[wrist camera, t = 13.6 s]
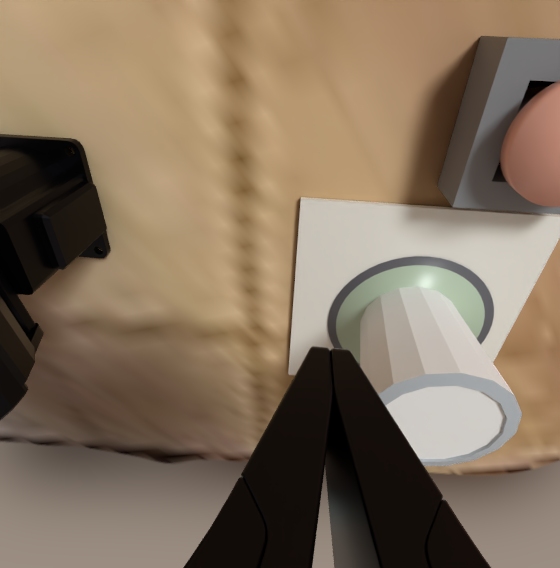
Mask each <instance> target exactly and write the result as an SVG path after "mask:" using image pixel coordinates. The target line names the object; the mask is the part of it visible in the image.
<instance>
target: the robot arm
mask: <svg viewBox="0 0 560 568" xmlns="http://www.w3.org/2000/svg"><path fill="white" fill-rule="evenodd" d="M69 146H70V147H72V148H73V149H74V151H75V154H73V153H72V152H71V151H70V149H69ZM98 247H100V248H101V249H102V250H103V251H101V250H99V249H98ZM109 252H110V245H109V241H108V237H107V234H106V223H105V220H104V216H103V212H102V208H101V204H100V201H99V197H98V193H97V189H96V186H95V185H94V184H93V181H92V177H91V173H90V169H89V166H88V162H87V158H86V154H85V151H84V148H83V146H82V145H81V143H80V142H78V141H77V140H75V139H71V138H55V137H39V136H22V135H6V134H0V420H1V419H3V418H4V417H5V416H6V415H7V414H8V413H9V412H11V411H12V410H13V408H14V407H15V406H16V405H17V404H18V403H19V401H20V400H21V399H22V398H23V397H24V395H25V394H26V392H27V390H28V387H27V385H26V384H25V382H26V380H27V378H28V376H29V374H30V372H31V370H32V367H33V365H34V363H35V353H36V351H37V348H38V346H39V343H40V341H41V339H42V336H43V331H42V329H41V328H40V326H39V324H38V323H34V321H33V319H32V318H31V316H30V315H29V313H28V311H27V310H26V308H25V307H24V305H23V303H22V302H21V300H20V299H19V297H18V295H19V294H25V295H31V294H33V293H34V292H35V291H36V290H37V289H38V288H39V287H40V286H41V285H42V284H43V283H45V282H46V281H47V280H48V279H49V278H50V277H51V276H52V275H53V274H54V273H55V272H56V271H58V270H59V269H61V270H63V269H65V268H66V267H67V266H69V265H70V264H71V263H72V262H73V261H74V260H75V259H76V258H77V257H78V256H79V257H92V258H104V257H106V256H107V255H108V254H109ZM324 466H325V470H326V481H327V491H328V502H329V513H330V524H331V535H332V546H333V556H334V567H335V568H491V567H490V566H489V564H488V563H487V562H486V560H485V559H484V557H483V556H482V554H481V553H480V551H479V550H478V548H477V547H476V545H475V544H474V543H473V541H472V540H471V538H470V537H469V535H468V534H467V532H466V531H465V529H464V528H463V526H462V525H461V523H460V522H459V520H458V519H457V517H456V515H455V514H454V512H453V511H452V509H451V507H450V506H449V504H448V503H447V501H446V500H442V498H443V496H442V494H441V492H440V490H439V489H438V487H437V486H436V484H435V483H434V481H433V479H432V478H431V476H430V475H429V473H428V472H427V470H426V469H425V467H424V465H423V464H422V462H421V461H420V459H419V458H418V456H417V454H416V453H415V451H414V450H413V448H412V447H411V445H410V444H409V442H408V440H407V439H406V437H405V436H404V434H403V433H402V431H401V429H400V428H399V426H398V425H397V423H396V422H395V420H394V418H393V417H392V415H391V414H390V412H389V411H388V409H387V408H386V406H385V404H384V403H383V401H382V400H381V398H380V397H379V395H378V393H377V392H376V390H375V389H374V387H373V386H372V384H371V382H370V381H369V379H368V378H367V376H366V375H365V373H364V372H363V370H362V368H361V367H360V365H359V364H358V362H357V361H356V359H355V357H354V356H353V354H352V353H351V351H350V350H348V349H339V348H332V349H331V350H330V349H329V348H327V347H317V346H312V347H311V348H310V349H309V351H308V353H307V355H306V357H305V358H304V360H303V362H302V364H301V366H300V368H299V369H298V371H297V373H296V375H295V377H294V379H293V380H292V382H291V384H290V386H289V388H288V389H287V391H286V393H285V395H284V397H283V399H282V400H281V402H280V404H279V406H278V408H277V410H276V411H275V413H274V415H273V417H272V419H271V421H270V422H269V424H268V426H267V428H266V430H265V432H264V433H263V435H262V437H261V439H260V441H259V443H258V444H257V446H256V448H255V450H254V452H253V454H252V455H251V457H250V459H249V461H248V463H247V465H246V467H245V468H244V470H243V472H242V474H241V476H242V477H240V478H239V479H238V481H237V482H236V484H235V486H234V488H233V490H232V491H231V493H230V495H229V497H228V499H227V500H226V502H225V504H224V505H223V507H222V509H221V511H220V512H219V514H218V516H217V518H216V519H215V521H214V522H213V524H212V526H211V527H210V529H209V530H208V532H207V534H206V535H205V537H204V538H203V539H202V541H201V542H200V544H199V546H198V547H197V549H196V550H195V552H194V553H193V555H192V556H191V558H190V559H189V560H188V562H187V563H186V565H185V566H184V568H312V563H313V554H314V546H315V539H316V530H317V523H318V514H319V507H320V498H321V491H322V483H323V475H324Z"/></svg>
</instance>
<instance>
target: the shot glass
mask: <svg viewBox="0 0 560 568" xmlns="http://www.w3.org/2000/svg"><path fill="white" fill-rule="evenodd" d="M360 367H361V368H362V370H363V372H364V373H365V375H366V376H367V378H368V379H369V381H370V382H371V384H372V386H373V387H374V389H375V390H376V392H377V393H378V395H379V397H380V398H381V400H382V401H383V403H384V404H385V406H386V408H387V409H388V411H389V412H390V414H391V415H392V417H393V418H394V420H395V422H396V423H397V425H398V426H399V428H400V429H401V431H402V433H403V434H404V436H405V437H406V439H407V440H408V442H409V444H410V445H411V447H412V448H413V450H414V451H415V453H416V454H417V456H418V458H419V459H420V461H421V462H422V464H423V465H424V466H449V465H454V464H458V463H463V462H468V461H473V460H476V459H478V458H480V457H482V456H484V455H487V454H489V453H491V452H493V451H495V450H497V449H499V448H500V447H501V446H502V445H503V444H505V443H506V442H507V441H508V440H509V439H510V438H511V437H512V436H513V435H514V434H515V433H516V431H517V428H518V425H519V422H520V419H521V416H522V412H521V410H520V408H519V405H518V403H517V400H516V398H515V395H514V394H513V392H512V391H511V389H510V388H509V386H508V385H507V383H506V382H505V380H504V379H503V377H502V376H501V374H500V373H499V372H498V370H497V369H496V367H495V366H494V364H493V363H492V361H491V360H490V358H489V357H488V355H487V354H486V352H485V351H484V349H483V348H482V346H481V345H480V343H479V342H478V340H477V339H476V337H475V336H474V334H473V333H472V331H471V330H470V328H469V327H468V325H467V324H466V322H465V321H464V319H463V318H462V316H461V315H460V313H459V312H458V310H457V309H456V308H455V306H454V305H453V303H452V302H451V300H449V299H448V298H446V297H445V296H444V295H442V294H441V293H440V292H438V291H436V290H432V289H428V288H424V287H420V286H417V287H404V288H397V289H395V290H392V291H390V292H387V293H385V294H382V295H380V296H379V297H378V298H377V299H375V300H374V301H373V302H372V303H371V304H370V305H369V306H367V308H366V310H365V312H364V314H363V316H362V318H361V320H360Z"/></svg>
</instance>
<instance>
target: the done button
mask: <svg viewBox="0 0 560 568" xmlns="http://www.w3.org/2000/svg"><path fill="white" fill-rule="evenodd" d="M500 163H501V169H502V173H503V176H504V178H505V180H506V181H507V183H508V184H509V185H510V186H511V187H512V188H513V189H514V190H515V191H516V192H518V193H519V194H520V195H521V196H522V197H524V198H525V199H527V200H528V201H530V202H532V203H534V204H537V205H541V206H547V207H560V80H559V81H557V82H555V83H553V84H551V85H550V86H548V87H534V88H530V89H527V90H526V92H525V95H524V97H523V100H522V103H521V105H520V108H519V111H518V113H517V116H516V117H515V118H514V120H513V121H512V123H511V125H510V127H509V128H508V130H507V133H506V135H505V137H504V140H503V144H502V148H501V155H500Z"/></svg>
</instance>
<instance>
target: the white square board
mask: <svg viewBox="0 0 560 568" xmlns="http://www.w3.org/2000/svg"><path fill="white" fill-rule="evenodd" d="M559 238H560V215H558V214H543V213H528V212H514V211H499V210H484V209H469V208H454V207H440V206H425V205H410V204H395V203H381V202H366V201H351V200H336V199H321V198H307V197H301V202H300V216H299V230H298V244H297V258H296V272H295V286H294V300H293V314H292V328H291V342H290V356H289V370H288V375H296V373H297V371H298V369H299V368H300V366H301V364H302V362H303V360H304V358H305V357H306V355H307V353H308V351H309V349H310V348H311V347H312V346H317V347H327V348H329V349H330V350H331V349H332V348H339V349H348V350H350V351H351V353H352V354H353V356H354V357H355V359H356V361H357V362H358V364H359V365H360V320H361V318H362V316H363V314H364V312H365V310H366V308H367V306H369V305H370V304H371V303H372V302H373V301H374V300H375V299H377V298H378V297H379V296H380V295H382V294H385V293H387V292H390V291H392V290H395V289H397V288H404V287H417V286H420V287H424V288H428V289H432V290H436V291H438V292H440V293H441V294H442V295H444V296H445V297H446V298H448V299H449V300H451V302H452V303H453V305H454V306H455V308H456V309H457V310H458V312H459V313H460V315H461V316H462V318H463V319H464V321H465V322H466V324H467V325H468V327H469V328H470V330H471V331H472V333H473V334H474V336H475V337H476V339H477V340H478V342H479V343H480V345H481V346H482V348H483V349H484V351H485V352H486V354H487V355H488V357H489V358H490V360H491V361H492V363H493V362H494V360H495V358H496V356H497V354H498V352H499V350H500V349H501V347H502V345H503V343H504V341H505V339H506V337H507V335H508V334H509V332H510V330H511V328H512V326H513V324H514V322H515V320H516V319H517V317H518V315H519V313H520V311H521V309H522V307H523V305H524V304H525V302H526V300H527V298H528V296H529V294H530V292H531V290H532V289H533V287H534V285H535V283H536V281H537V279H538V277H539V276H540V274H541V272H542V270H543V268H544V266H545V264H546V262H547V261H548V259H549V257H550V255H551V253H552V251H553V249H554V247H555V246H556V244H557V242H558V240H559Z"/></svg>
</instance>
